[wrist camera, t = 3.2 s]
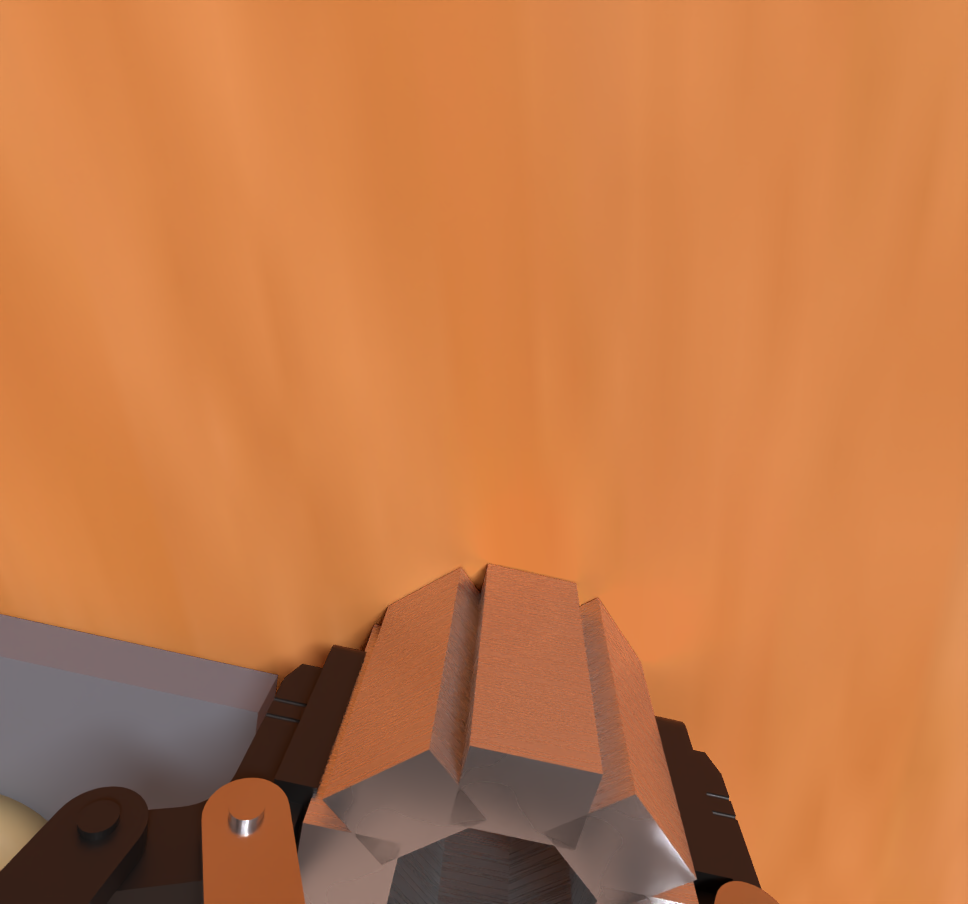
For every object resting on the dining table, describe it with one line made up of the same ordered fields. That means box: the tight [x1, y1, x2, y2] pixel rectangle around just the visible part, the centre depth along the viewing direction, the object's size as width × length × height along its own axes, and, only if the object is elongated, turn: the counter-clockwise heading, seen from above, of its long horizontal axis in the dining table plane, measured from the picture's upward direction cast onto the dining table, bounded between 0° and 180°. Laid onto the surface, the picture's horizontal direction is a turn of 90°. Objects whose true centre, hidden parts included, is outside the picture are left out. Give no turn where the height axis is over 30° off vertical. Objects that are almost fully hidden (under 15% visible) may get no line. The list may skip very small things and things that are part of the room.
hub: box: [297, 564, 699, 904], centre depth 13 cm, size 6×6×5 cm
